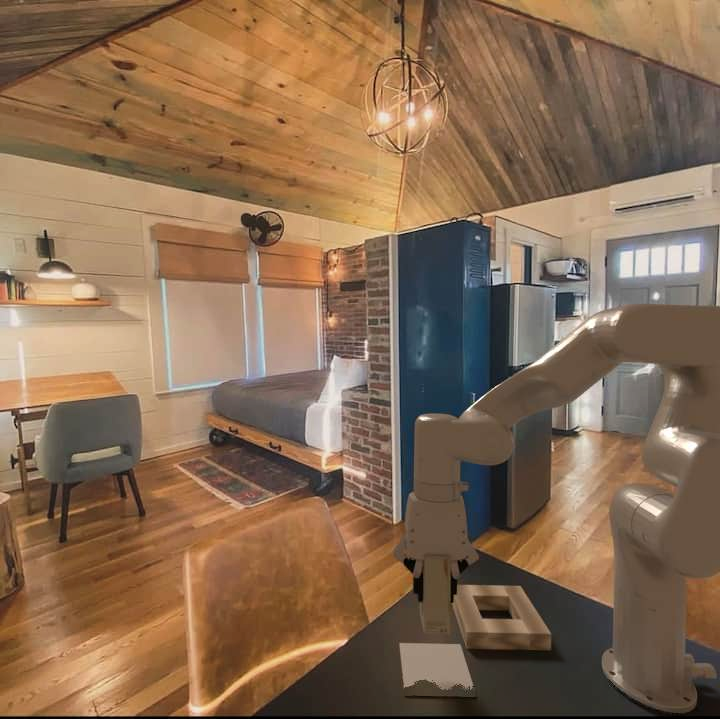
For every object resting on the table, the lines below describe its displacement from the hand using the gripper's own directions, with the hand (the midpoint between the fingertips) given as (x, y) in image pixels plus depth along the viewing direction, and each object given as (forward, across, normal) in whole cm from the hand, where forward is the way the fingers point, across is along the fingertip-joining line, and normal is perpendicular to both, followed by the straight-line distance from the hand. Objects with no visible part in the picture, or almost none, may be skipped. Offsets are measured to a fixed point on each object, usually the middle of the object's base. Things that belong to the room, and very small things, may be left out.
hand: (434, 596), depth 68 cm
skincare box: (+5, 0, 0) cm, 5 cm away
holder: (+12, -14, -12) cm, 23 cm away
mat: (+12, 0, 0) cm, 12 cm away
